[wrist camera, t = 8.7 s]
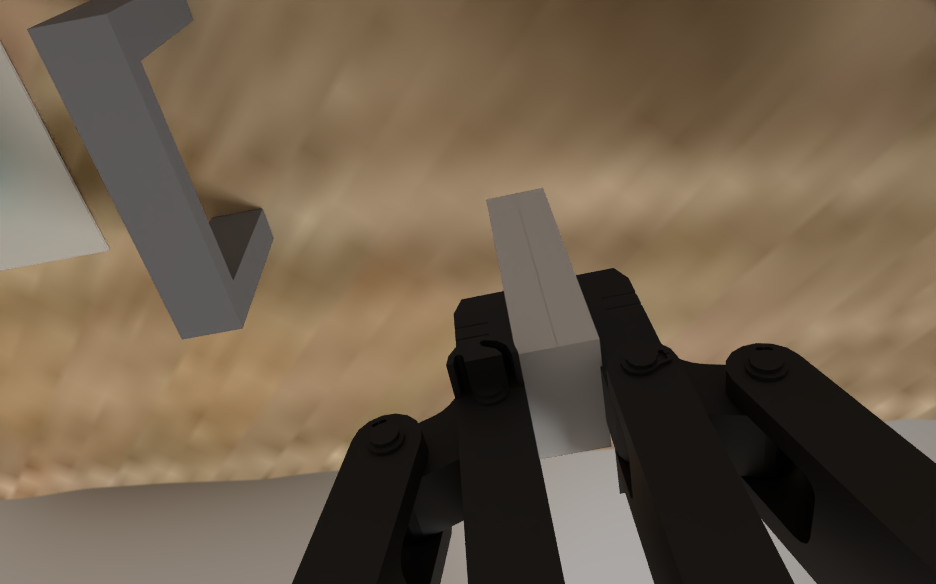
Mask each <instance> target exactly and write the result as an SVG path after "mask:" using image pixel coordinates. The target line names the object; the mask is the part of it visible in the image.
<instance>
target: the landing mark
mask: <svg viewBox="0 0 936 584" xmlns="http://www.w3.org/2000/svg"><path fill="white" fill-rule="evenodd" d="M108 250H109V247H108V245H107V243H106V241H105V240H104V238H103V236H102V234H101V232H100V230H99V228H98V226H97V224H96V222H95V221H94V219H93V217H92V215H91V213H90V211H89V209H88V207H87V205H86V203H85V201H84V200H83V198H82V196H81V194H80V192H79V190H78V188H77V186H76V184H75V182H74V181H73V179H72V177H71V175H70V173H69V171H68V169H67V167H66V165H65V163H64V162H63V160H62V158H61V156H60V154H59V152H58V150H57V148H56V146H55V144H54V142H53V141H52V139H51V137H50V135H49V133H48V131H47V129H46V127H45V125H44V123H43V122H42V120H41V118H40V116H39V114H38V112H37V110H36V108H35V106H34V104H33V103H32V101H31V99H30V97H29V95H28V93H27V91H26V89H25V87H24V85H23V83H22V82H21V80H20V78H19V76H18V74H17V72H16V70H15V68H14V66H13V64H12V63H11V61H10V59H9V57H8V55H7V53H6V51H5V49H4V47H3V45H2V44H1V42H0V271H1V270H7V269H12V268H17V267H23V266H28V265H34V264H39V263H44V262H50V261H55V260H61V259H66V258H71V257H77V256H82V255H88V254H93V253H99V252H104V251H108Z"/></svg>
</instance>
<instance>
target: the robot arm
mask: <svg viewBox="0 0 936 584" xmlns="http://www.w3.org/2000/svg"><path fill="white" fill-rule="evenodd" d="M486 201H487V206H488V211H489V216H490V222H491V227H492V232H493V237H494V242H495V247H496V253H497V258H498V263H499V268H500V273H501V279H502V284H503V289H504V291H502V292H497V293H492V294H487V295H482V296H477V297H472V298H467V299H462V300H461V302H460V303H459V305H458V307H457V309H456V311H455V313H454V324H455V338H456V348H455V349H454V350H453V351H452V353H451V354H450V355H449V356H448V360H447V364H446V366H447V370H448V374H449V377H450V381H451V384H452V388H453V392H454V395H455V399H454V400H453V401H452V402H451V404H450V405H449V406H448V407H447V408H445V409H444V410H443V411H442V412H440V413H438V414H437V415H435V416H433V417H431V418H429V419H426V420H424V421H422V422H420V423H418V422H417V421H416V420H415V419H413V418H411V417H410V416H408V415H402V414H390V415H384V416H381V417H378V418H376V419H374V420H372V421H369V422H368V423H367V424H366V425H364V426H363V427H362V428H361V429H359V430H358V432H357V433H356V435H355V437H354V438H353V440H352V442H351V444H350V446H349V449H348V451H347V454H346V456H345V458H344V461H343V463H342V465H341V468H340V470H339V473H338V475H337V477H336V480H335V482H334V485H333V487H332V489H331V492H330V494H329V497H328V499H327V501H326V504H325V506H324V509H323V511H322V513H321V516H320V518H319V520H318V523H317V525H316V528H315V530H314V533H313V535H312V537H311V539H310V542H309V544H308V547H307V549H306V551H305V554H304V556H303V559H302V561H301V563H300V566H299V568H298V571H297V573H296V575H295V578H294V580H293V582H292V584H440V582H441V578H442V574H443V569H444V565H445V560H446V555H447V551H448V547H449V542H450V538H451V534H452V533H451V532H452V526H453V525H455V524H457V523H459V522H461V521H463V520H464V531H465V546H466V560H467V575H468V584H565V582H564V577H563V572H562V567H561V562H560V557H559V553H558V547H557V542H556V537H555V532H554V527H553V523H552V518H551V513H550V508H549V503H548V498H547V493H546V488H545V483H544V478H543V473H542V468H541V464H540V459H545V458H550V457H556V456H562V455H567V454H573V453H578V452H583V451H589V450H594V449H600V448H605V447H611V438H610V434H611V437H612V441H613V444H614V447H615V453H616V462H617V471H618V480H619V489H620V494H621V493H625V494H626V497H627V500H628V503H629V506H630V509H631V512H632V515H633V519H634V522H635V524H636V528H637V531H638V534H639V537H640V540H641V544H642V547H643V550H644V553H645V556H646V559H647V562H648V565H649V569H650V571H651V575H652V578H653V580H654V584H794V582H793V580H792V578H791V576H790V574H789V572H788V570H787V568H786V566H785V564H784V562H783V561H782V559H781V557H780V555H779V553H778V551H777V549H776V547H775V545H774V543H773V541H772V539H771V537H770V535H769V533H768V532H767V529H766V528H765V526H764V524H763V522H762V520H763V521H764V522H765V524H766V525H767V526H768V527H769V528H770V529H771V530H772V532H773V533H774V534H775V535H776V536H777V538H778V539H779V540H780V541H781V542H782V543H783V545H784V546H785V547H786V548H787V549H788V550H789V551H790V553H791V554H792V555H793V556H794V557H795V558H796V560H797V561H798V562H799V563H800V564H801V565H802V567H803V568H804V569H805V570H806V571H807V573H808V574H809V575H810V576H811V577H812V578H813V579H814V581H815V582H816V583H817V584H936V463H934V462H933V461H932V460H931V459H930V458H928V457H927V456H926V455H925V454H923V453H922V452H921V451H919V450H918V449H916V447H914V446H913V445H912V444H911V443H909V442H908V441H907V440H906V439H904V438H903V437H902V436H901V435H899V434H898V433H897V432H896V431H894V430H893V429H892V428H891V427H889V426H888V425H887V424H886V423H884V422H883V421H882V420H881V419H879V418H878V417H877V416H876V415H874V414H873V413H872V412H871V411H869V410H868V409H867V408H866V407H864V406H863V405H862V404H860V403H859V402H858V401H857V400H855V399H854V398H853V397H852V396H850V395H849V394H848V393H847V392H845V391H844V390H843V389H842V388H840V387H839V386H838V385H837V384H835V383H834V382H833V381H832V380H830V379H829V378H828V377H827V376H825V375H824V374H823V373H822V372H820V371H819V370H818V369H817V368H815V367H814V366H813V365H811V364H810V363H809V362H808V361H806V360H805V359H804V358H803V357H801V356H800V355H799V354H797V353H795V352H794V351H792V350H790V349H788V348H786V347H782V346H779V345H775V344H763V343H755V344H751V345H746V346H742V347H740V348H738V349H737V350H735V351H733V352H732V353H731V354H730V356H729V357H728V359H727V360H726V365H715V364H699V363H692V362H688V361H684V360H681V359H679V358H678V356H677V355H676V354H675V353H674V352H673V351H672V350H671V349H670V348H668V347H666V346H664V345H662V344H661V342H660V340H659V338H658V336H657V334H656V332H655V330H654V328H653V326H652V324H651V322H650V320H649V318H648V316H647V314H646V312H645V310H644V308H643V306H642V305H641V302H640V300H639V298H638V296H637V294H636V293H635V290H634V288H633V286H632V284H631V282H630V280H629V278H628V277H626V276H625V275H623V274H622V273H620V272H619V271H617V270H616V269H614V268H611V269H606V270H601V271H596V272H591V273H585V274H580V275H575V272H574V270H573V267H572V264H571V262H570V259H569V256H568V254H567V251H566V248H565V246H564V243H563V240H562V237H561V235H560V232H559V229H558V227H557V224H556V221H555V219H554V216H553V213H552V211H551V208H550V205H549V203H548V200H547V197H546V195H545V192H544V189H543V188H540V189H535V190H531V191H526V192H521V193H516V194H511V195H506V196H501V197H496V198H492V199H487V200H486ZM761 519H762V520H761Z"/></svg>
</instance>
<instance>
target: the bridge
mask: <svg viewBox="0 0 936 584" xmlns="http://www.w3.org/2000/svg"><path fill="white" fill-rule="evenodd" d="M192 21H193V18H192V15H191V12H190V10H189V7H188V4H187V2H186V0H90V1H88V2H86V3H84V4H82V5H79V6H77V7H75V8H73V9H71V10H68V11H66V12H64V13H62V14H60V15H57V16H55V17H53V18H51V19H49V20H46V21H44V22H42V23H40V24H38V25H35V26H33V27H31V28H29V29H27V30H28V32H29V34H30V36H31V38H32V40H33V42H34V44H35V46H36V48H37V50H38V52H39V54H40V56H41V58H42V60H43V62H44V64H45V66H46V68H47V70H48V72H49V74H50V76H51V78H52V80H53V82H54V84H55V86H56V88H57V90H58V92H59V94H60V96H61V98H62V100H63V102H64V104H65V106H66V108H67V110H68V112H69V114H70V116H71V118H72V120H73V122H74V124H75V126H76V128H77V130H78V132H79V134H80V136H81V138H82V140H83V142H84V144H85V146H86V148H87V150H88V152H89V154H90V156H91V158H92V160H93V162H94V164H95V166H96V168H97V170H98V172H99V174H100V176H101V178H102V180H103V182H104V184H105V186H106V188H107V190H108V192H109V194H110V196H111V198H112V200H113V202H114V204H115V206H116V208H117V210H118V212H119V214H120V216H121V218H122V220H123V222H124V224H125V226H126V228H127V230H128V232H129V234H130V236H131V238H132V240H133V242H134V244H135V246H136V248H137V250H138V252H139V254H140V256H141V258H142V260H143V262H144V264H145V266H146V268H147V270H148V272H149V274H150V276H151V278H152V280H153V282H154V284H155V286H156V288H157V290H158V292H159V294H160V296H161V298H162V300H163V302H164V304H165V306H166V308H167V310H168V312H169V314H170V316H171V318H172V320H173V322H174V324H175V326H176V328H177V330H178V332H179V334H180V336H181V338H182V339H187V338H193V337H198V336H204V335H209V334H215V333H220V332H226V331H231V330H237V329H242V328H243V326H244V323H245V320H246V317H247V314H248V311H249V308H250V305H251V302H252V300H253V297H254V294H255V291H256V288H257V285H258V282H259V279H260V276H261V273H262V270H263V268H264V265H265V262H266V259H267V256H268V253H269V250H270V247H271V244H272V241H273V239H274V238H273V236H272V233H271V230H270V227H269V225H268V222H267V219H266V217H265V214H264V211H263V209H258V210H252V211H247V212H242V213H236V214H231V215H225V216H220V217H215V218H212V219H211V221H210V223H209V222H208V220H207V217H206V215H205V213H204V210H203V208H202V206H201V203H200V201H199V198H198V196H197V194H196V191H195V189H194V187H193V184H192V182H191V179H190V177H189V175H188V172H187V170H186V168H185V165H184V163H183V160H182V158H181V156H180V153H179V151H178V149H177V146H176V144H175V142H174V139H173V137H172V134H171V132H170V130H169V127H168V125H167V123H166V120H165V118H164V115H163V113H162V111H161V108H160V106H159V104H158V101H157V99H156V96H155V94H154V92H153V89H152V87H151V85H150V82H149V80H148V77H147V75H146V73H145V70H144V68H143V66H142V63H141V60H142V59H144V58H145V57H146V56H147V55H149V54H150V53H151V52H153V51H154V50H155V49H157V48H158V47H159V46H160V45H162V44H163V43H164V42H166V41H167V40H168V39H170V38H171V37H172V36H174V35H175V34H176V33H177V32H179V31H180V30H181V29H183V28H184V27H185V26H187V25H188V24H189V23H190V22H192Z"/></svg>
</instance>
